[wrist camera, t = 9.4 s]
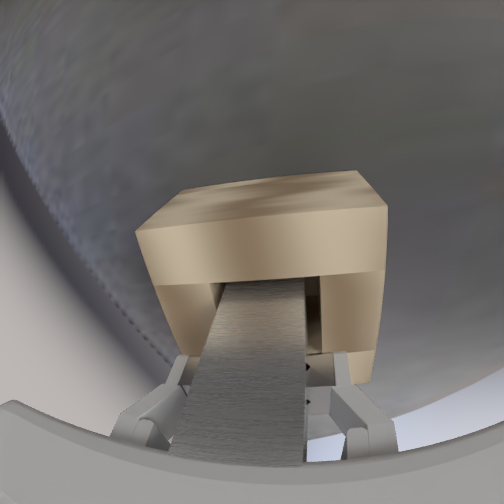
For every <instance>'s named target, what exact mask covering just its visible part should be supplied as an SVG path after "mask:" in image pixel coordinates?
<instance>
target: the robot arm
mask: <svg viewBox="0 0 504 504" xmlns="http://www.w3.org/2000/svg"><path fill="white" fill-rule="evenodd" d="M200 357H201V355H187V354H179V355H178V356H177V357H176V360H175V362H174V364H173V367H172V369H171V371H170V374H169V376H168V378H167V381H166V383H165V384H161V385H160V386H158V387H157V388H155V389H154V390H153V391H151V392H150V393H148V394H147V395H146V396H144V397H143V398H142V399H140V400H139V401H138V402H136V403H135V404H133V405H132V406H130V407H129V408H128V409H126V410H125V411H123V412H122V413H121V414H120V416H119V418H118V420H117V422H116V424H115V426H114V429H113V430H112V433H111V435H110V437H108V436H105V435H102V434H98V433H95V432H92V431H89V430H86V429H83V428H81V427H77V426H75V425H72V424H70V423H67V422H64V421H61V420H59V419H56V418H54V417H52V416H50V415H47V414H45V413H43V412H40V411H38V410H36V409H34V408H32V407H29V406H27V405H25V404H23V403H21V402H19V401H17V400H11V401H8V402H6V403H4V404H2V405H0V504H504V421H502V422H500V423H497V424H495V425H492V426H489V427H487V428H484V429H481V430H479V431H476V432H473V433H470V434H467V435H464V436H461V437H457V438H454V439H451V440H447V441H444V442H440V443H436V444H433V445H429V446H425V447H420V448H416V449H411V450H406V451H402V452H398V445H397V439H396V433H395V427H394V422H393V421H392V420H391V419H390V418H389V417H388V416H387V415H386V414H385V413H384V412H383V411H382V410H381V409H380V408H379V407H378V406H377V405H376V404H375V403H374V402H373V401H372V400H371V399H370V398H369V397H368V396H367V395H366V394H365V393H363V392H362V391H361V390H360V389H359V388H358V387H357V386H356V385H355V384H352V385H351V379H350V371H349V364H348V356H347V352H346V351H336V352H333V353H332V352H324V353H311V354H306V370H307V371H306V398H307V415H314V414H330V416H331V418H332V419H333V420H334V422H335V423H336V424H337V426H338V427H339V428H340V430H341V431H342V432H343V434H344V435H345V436H346V438H345V443H344V447H343V452H342V456H341V460H336V461H321V462H303V464H302V467H258V466H242V465H230V464H220V463H212V462H204V461H197V460H191V459H185V458H179V457H173V456H168V455H167V454H168V451H169V448H170V445H171V444H170V443H169V442H168V440H169V439H170V438H171V437H172V436H173V435H174V433H175V430H176V428H177V425H178V422H179V419H180V416H181V413H182V410H183V407H184V404H185V401H186V398H187V395H188V392H189V389H190V386H191V383H192V381H193V378H194V375H195V372H196V369H197V366H198V363H199V360H200Z"/></svg>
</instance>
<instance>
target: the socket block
mask: <svg viewBox="0 0 504 504" xmlns="http://www.w3.org/2000/svg"><path fill="white" fill-rule="evenodd" d="M387 223H388V206H387V205H386V203H385V202H384V201H383V200H382V199H381V197H380V196H379V195H378V194H377V193H376V192H375V191H374V189H373V188H372V187H371V186H370V185H369V184H368V183H367V181H366V180H365V179H364V178H363V177H362V176H361V175H360V174H359V173H358V171H357V170H356V171H340V172H327V173H315V174H303V175H293V176H283V177H274V178H265V179H256V180H248V181H241V182H233V183H226V184H219V185H212V186H205V187H199V188H192V189H186V190H182V191H181V192H180V193H178V194H177V195H176V196H175V197H174V198H172V199H171V200H170V201H169V202H168V203H166V204H165V205H164V206H163V207H162V208H161V209H160V210H158V211H157V212H156V213H155V214H154V215H153V216H152V217H150V218H149V219H148V220H147V221H146V222H145V223H144V224H143V225H141V226H140V227H139V228H138V229H137V230H136V231H135V233H136V236H137V239H138V243H139V246H140V249H141V252H142V255H143V257H144V260H145V263H146V266H147V269H148V272H149V275H150V277H151V280H152V283H153V286H154V288H155V291H156V294H157V296H158V299H159V301H160V304H161V307H162V309H163V312H164V314H165V317H166V319H167V322H168V324H169V327H170V329H171V331H172V334H173V336H174V338H175V341H176V343H177V345H178V348H179V350H180V352H181V354H187V355H202V352H203V349H204V346H205V343H206V340H207V337H208V335H209V332H210V329H211V326H212V323H213V320H214V318H215V315H216V312H217V309H218V306H219V303H220V301H221V298H222V295H223V292H224V289H225V287H226V284H227V282H237V281H254V280H269V279H284V278H298V277H304V283H305V296H306V310H307V326H308V354H311V353H324V352H332V353H333V352H336V351H346V352H347V356H348V364H349V371H350V379H351V384H360V383H369V382H370V379H371V374H372V369H373V363H374V358H375V352H376V346H377V339H378V332H379V325H380V317H381V309H382V300H383V290H384V279H385V266H386V250H387Z"/></svg>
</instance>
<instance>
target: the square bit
mask: <svg viewBox="0 0 504 504" xmlns="http://www.w3.org/2000/svg"><path fill="white" fill-rule="evenodd" d="M306 354H308V326H307V310H306V296H305V283H304V277H298V278H284V279H269V280H254V281H237V282H227V284H226V287H225V289H224V292H223V295H222V298H221V301H220V303H219V306H218V309H217V312H216V315H215V318H214V320H213V323H212V326H211V329H210V332H209V335H208V337H207V340H206V343H205V346H204V349H203V352H202V355H201V357H200V360H199V363H198V366H197V369H196V372H195V375H194V378H193V381H192V383H191V386H190V389H189V392H188V395H187V398H186V401H185V404H184V407H183V410H182V413H181V416H180V419H179V422H178V425H177V428H176V430H175V433H174V436H173V439H172V443H171V445H170V448H169V451H168V454H167V455H168V456H173V457H179V458H185V459H191V460H197V461H204V462H212V463H220V464H230V465H242V466H258V467H302V464H303V462H306V460H307V431H308V415H307V398H306V371H307V370H306Z"/></svg>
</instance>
